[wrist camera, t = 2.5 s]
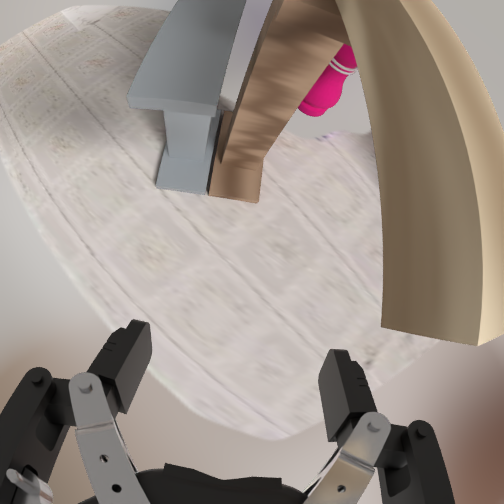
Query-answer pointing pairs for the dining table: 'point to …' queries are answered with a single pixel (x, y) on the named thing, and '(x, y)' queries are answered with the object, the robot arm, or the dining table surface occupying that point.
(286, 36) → the tall stand
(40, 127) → the dining table surface
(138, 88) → the low stand
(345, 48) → the pepper mill
